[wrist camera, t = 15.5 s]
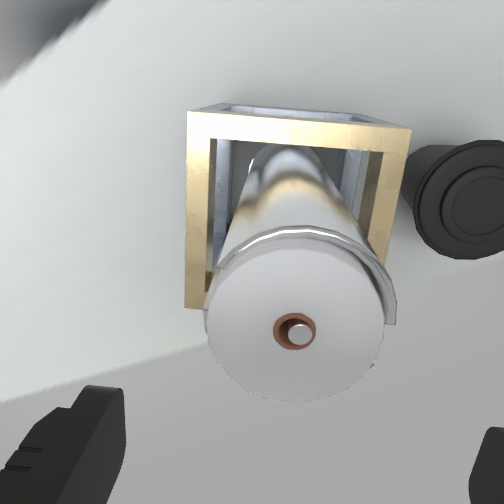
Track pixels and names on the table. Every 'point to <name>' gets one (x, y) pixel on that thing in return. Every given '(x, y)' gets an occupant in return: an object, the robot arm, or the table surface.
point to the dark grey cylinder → (458, 197)
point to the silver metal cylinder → (296, 284)
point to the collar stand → (284, 132)
